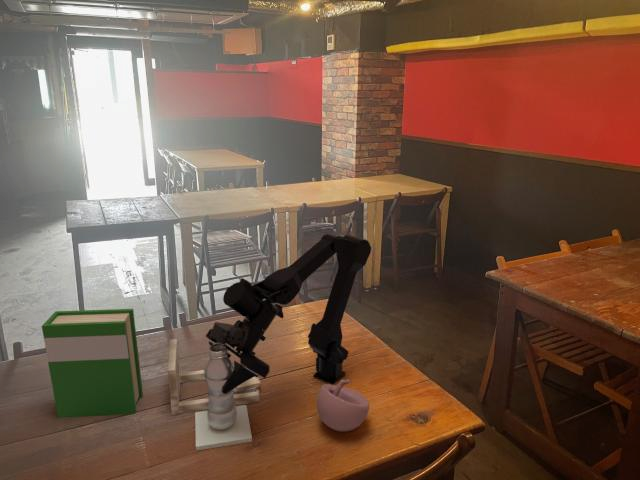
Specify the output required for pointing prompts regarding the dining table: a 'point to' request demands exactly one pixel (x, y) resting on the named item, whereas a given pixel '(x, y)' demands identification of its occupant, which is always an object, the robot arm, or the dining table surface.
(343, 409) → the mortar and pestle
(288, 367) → the dining table surface
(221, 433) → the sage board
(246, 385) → the offcut stack
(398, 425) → the dining table surface
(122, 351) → the hardback book
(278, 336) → the dining table surface
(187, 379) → the birch rack
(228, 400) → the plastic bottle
